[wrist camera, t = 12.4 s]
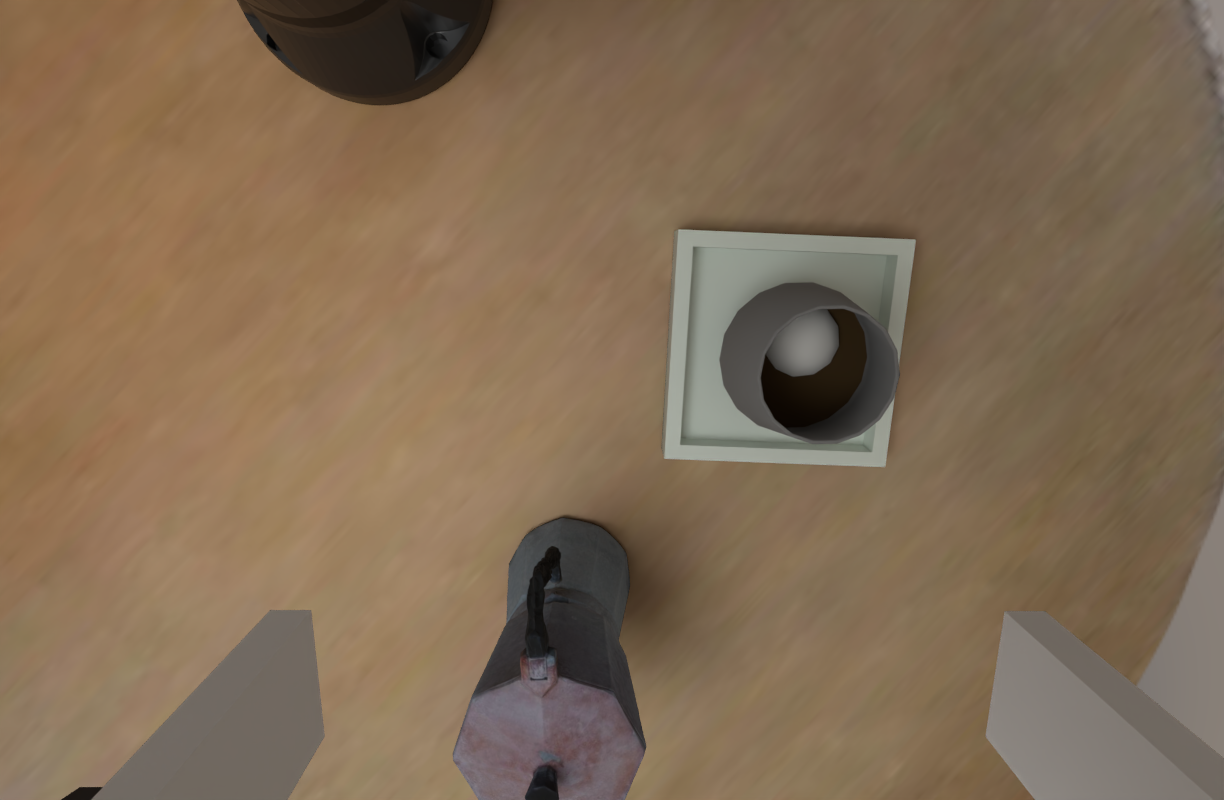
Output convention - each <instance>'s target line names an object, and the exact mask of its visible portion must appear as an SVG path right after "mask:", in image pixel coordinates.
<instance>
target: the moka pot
mask: <svg viewBox="0 0 1224 800" xmlns="http://www.w3.org/2000/svg"><path fill="white" fill-rule="evenodd" d="M508 573H509V578H508V595H507V623H506V626H505V628H504V630H503V632H502V634H501V636H500V638H499V640H498V642H497V644H496V647H495V649H494V651H493V653H492V655H491V657H490V659H489V661H488V663H487V666H486V668H485V670H484V672H483V674H482V676H481V678H480V680H479V682H478V684H477V686H476V689H475V691H474V693H473V695H472V697H471V700H470V703H469V706H468V709H467V712H466V715H465V718H464V721H463V724H462V727H461V730H460V733H459V736H458V739H457V742H456V745H455V748H454V752H453V761H454V762H455V764H456V765H457V767H458V768H459V770H460V771H461V773H462V774H463V776H464V777H465V779H466V780H467V782H468V783H469V785H470V787H471V788H472V790H473V791H474V793H475V795H476V796H477V798H478V799H479V800H625V798H626V796H627V793H628V791H629V789H630V786H631V784H632V782H633V779H634V777H635V775H636V772H637V770H638V768H639V766H640V763H641V761H642V759H643V757H644V753H645V750H646V743H645V739H644V735H643V731H642V726H641V722H640V717H639V712H638V707H637V703H636V698H635V694H634V690H633V685H632V681H631V676H630V672H629V667H628V663H627V659H626V655H625V653H624V651H623V649H622V647H621V645H620V643H619V636H620V631H621V626H622V621H623V616H624V612H625V607H626V602H627V598H628V594H629V587H630V578H629V569H628V560H627V555H626V553H625V551H624V550H623V548H622V547H621V546H620V544H619V543H618V542H617V541H616V540H615V539H614V538H613V537H612V536H611V535H610V534H608V533H607V532H606V531H605V530H604V529H602V528H601V527H599V526H597V525H594V524H591V523H587V522H583V521H578V520H572V519H567V518H560V519H558V520H554V521H551V522H549V523H546V524H544V525H542V526H540V527H538V528H536V529H535V530H533V531H531V532H530V533H528V534H527V535H526V536H525V537H524V539H523V540H522V542H521V543H520V545H519V547H518V548H517V550H516V552H515V554H514V556H513V558H512V560H511V561H510V563H509V572H508Z"/></svg>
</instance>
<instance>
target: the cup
mask: <svg viewBox="0 0 1224 800" xmlns="http://www.w3.org/2000/svg"><path fill="white" fill-rule="evenodd" d="M719 361H720V367H721V373H722V380H723V385H724V387H725V389H726V391H727V393H728V394H729V396H730V398H731V399H732V401H733V403H734V405H735V406H736V408H737V409H738V410H739V411H740V412H742V413H743V414H744V415H745V416H747V417H748V418H749V419H750V420H752V421H753V422H754V423H755V424H756V425H758V426H761V427H764V428H767V429H769V430H772V431H775V432H778V433H781V434H784V435H787V436H790V437H793V438H796V439H799V440H802V441H805V442H808V443H811V444H838V443H841V442H843V441H846V440H849V439H851V438H854V437H857V436H860V435H861V434H863V433H864V432H865V431H866V430H868V429H869V428H870V427H871V426H873V425H874V424H875V423H876V422H878V421H879V420H880V419H881V417H882V416H883V414H884V413H885V411H886V410H887V408H888V407H889V405H890V404H891V402H892V401H893V399H894V396H895V392H896V388H897V384H898V380H899V376H900V371H899V362H898V352H897V349H896V347H895V345H894V343H893V341H892V339H891V337H890V335H889V333H888V331H887V329H886V328H885V327H883V326H882V325H881V324H880V323H879V322H878V321H876V320H875V319H874V318H873V317H872V316H871V315H870V314H868V313H867V312H866V311H865V310H863V309H862V308H861V307H859V306H858V305H857V304H855V303H854V302H853V301H851V300H850V299H849V298H847V297H846V296H845V295H844V294H842V293H841V292H839V291H836V290H833V289H831V288H828V287H825V286H822V285H819V284H817V283H814V282H802V283H783V284H781V285H778V286H776V287H773V288H770V289H768V290H765V291H763V292H760V293H758V294H757V295H756V296H755V297H753V298H752V299H751V300H750V301H749V302H748V303H746V304H745V305H744V306H743V307H742V308H741V309H739V310H738V311H737V313H736V315H735V317H734V318H733V320H732V322H731V323H730V325H729V327H728V329H727V330H726V332H725V334H724V338H723V343H722V348H721V354H720V359H719Z"/></svg>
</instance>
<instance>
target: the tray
mask: <svg viewBox="0 0 1224 800" xmlns="http://www.w3.org/2000/svg"><path fill="white" fill-rule="evenodd" d="M915 243H916V240H914V239H891V238H868V237H844V236H821V235H797V234H774V233H751V232H727V231H704V230H680V229H678V230H676V231H674V245H673V262H672V279H671V296H670V313H669V329H668V346H667V363H666V380H665V397H664V414H663V431H662V447H661V448H662V452H663V456H664V459H684V460H711V461H737V462H763V463H790V464H816V465H842V466H869V467H885V465H886V457H887V450H888V443H889V435H890V428H891V420H892V413H893V406H894V399H893V401H892V402H891V404H890V405H889V407H888V408H887V410H886V411H885V413H884V414H883V416H882V417H881V419H880V420H879V421H878V422H876V423H875V424H874V425H873V426H871V427H870V428H869V429H868V430H866V431H865V432H864V433H863V434H861V435H860V436H857V437H854V438H851V439H849V440H846V441H843V442H841V443H838V444H811V443H808V442H805V441H802V440H799V439H796V438H793V437H790V436H787V435H784V434H781V433H778V432H775V431H772V430H769V429H767V428H764V427H761V426H758V425H756V424H755V423H754V422H753V421H752V420H750V419H749V418H748V417H747V416H745V415H744V414H743V413H742V412H740V411H739V410H738V409H737V408H736V406H735V405H734V403H733V401H732V399H731V398H730V396H729V394H728V393H727V391H726V389H725V387H724V385H723V380H722V373H721V367H720V361H719V359H720V354H721V348H722V343H723V338H724V334H725V332H726V330H727V329H728V327H729V325H730V323H731V322H732V320H733V318H734V317H735V315H736V313H737V311H738V310H739V309H741V308H742V307H743V306H744V305H745V304H746V303H748V302H749V301H750V300H751V299H752V298H753V297H755V296H756V295H757V294H758V293H760V292H763V291H765V290H768V289H770V288H773V287H776V286H778V285H781V284H783V283H802V282H814V283H817V284H819V285H822V286H825V287H828V288H831V289H833V290H836V291H839V292H841V293H842V294H844V295H845V296H846V297H847V298H849V299H850V300H851V301H853V302H854V303H855V304H857V305H858V306H859V307H861V308H862V309H863V310H865V311H866V312H867V313H868V314H870V315H871V316H872V317H873V318H874V319H875V320H876V321H878V322H879V323H880V324H881V325H882V326H883V327H885V328H886V329H887V331H888V333H889V335H890V337H891V339H892V341H893V343H894V345H895V347H896V349H897V352H898V362H899V361H900V354H901V347H902V339H903V332H904V324H905V317H906V310H907V302H908V295H909V287H910V280H911V273H912V265H913V258H914V250H915ZM894 398H895V396H894Z"/></svg>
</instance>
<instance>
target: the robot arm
mask: <svg viewBox="0 0 1224 800" xmlns="http://www.w3.org/2000/svg"><path fill="white" fill-rule="evenodd" d="M237 1H238V3H239V5H240V7H241V9H242V11H243V12H244V14H245V16H246V18H247V20H248V21H249V23H250V25H251V26H252V28H253V29H254V31H255V32H256V34H257V35H258V37H259V38H260V39H261V41H262V42H263V43H264V44H265V45H266V47H267V48H268V49H269V50H270V51H271V52H272V53H273V54H274V55H275V56H276V57H277V58H278V59H279V60H280V61H281V62H282V63H283V64H284V65H285V66H287V67H288V68H289V69H290V70H292V71H293V72H294V73H296V74H297V75H299V76H300V77H301V78H303V79H305V80H306V81H308V82H310V83H311V84H313V85H315V86H316V87H318V88H320V89H321V90H323V91H325V92H327V93H329V94H331V95H334V96H336V97H339V98H342V99H345V100H348V101H352V102H356V103H361V104H369V105H391V104H398V103H403V102H407V101H411V100H414V99H417V98H420V97H422V96H424V95H427V94H428V93H430V92H432V91H434V90H436V89H437V88H439V87H440V86H442V85H443V84H445V83H446V82H447V81H449V80H450V79H451V78H452V77H453V76H454V75H455V74H456V73H457V72H458V71H459V70H460V69H461V68H462V67H463V66H464V65H465V63H466V62H467V61H468V59H469V58H470V57H471V55H472V54H473V52H474V50H475V49H476V47H477V45H478V44H479V41H480V39H481V37H482V35H483V33H484V30H485V28H486V25H487V22H488V19H489V15H490V11H491V6H492V0H237ZM324 736H325V735H324V726H323V716H322V707H321V698H320V688H319V679H318V670H317V660H316V651H315V641H314V632H313V623H312V613H311V610H270V611H269V612H268V613H267V614H266V615H265V616H264V617H263V618H262V620H261V621H260V622H259V623H258V624H257V625H256V626H255V627H254V628H253V629H252V630H251V631H250V632H249V633H248V634H247V635H246V636H245V638H244V639H243V640H242V641H241V642H240V643H239V644H238V645H237V646H236V647H235V648H234V649H233V650H232V651H231V652H230V653H229V654H228V656H227V657H226V658H225V659H224V660H223V661H222V662H221V663H220V664H219V665H218V666H217V667H216V668H215V669H214V670H213V671H212V672H211V673H210V675H209V676H208V677H207V678H206V679H205V680H204V681H203V682H202V683H201V684H200V685H199V686H198V687H197V688H196V689H195V690H194V691H193V693H192V694H191V695H190V696H189V697H188V698H187V699H186V700H185V701H184V702H183V703H182V704H181V705H180V706H179V707H178V708H177V709H176V711H175V712H174V713H173V714H172V715H171V716H170V717H169V718H168V719H167V720H166V721H165V722H164V723H163V724H162V725H161V726H160V727H159V728H158V730H157V731H156V732H155V733H154V734H153V735H152V736H151V737H150V738H149V739H148V740H147V741H146V742H145V743H144V744H143V745H142V746H141V748H140V749H139V750H138V751H137V752H136V753H135V754H134V755H133V756H132V757H131V758H130V759H129V760H128V761H127V762H126V763H125V764H124V765H123V767H122V768H121V769H120V770H119V771H118V772H117V773H116V774H115V775H114V776H113V777H112V778H111V779H110V780H109V781H108V782H107V783H106V785H105V786H104V787H79V788H78V789H76V790H75V791H73V792H72V793H70V794H69V795H68V796H66V797H65V798H63V799H62V800H288V798H289V796H290V794H291V793H292V791H293V789H294V788H295V786H296V784H297V783H298V781H299V779H300V777H301V776H302V774H303V772H304V771H305V769H306V767H307V765H308V764H309V762H310V760H311V759H312V757H313V755H314V754H315V752H316V750H317V748H318V747H319V745H320V743H321V742H322V740H323V738H324ZM986 738H987V739H988V740H989V741H990V743H991V744H992V745H993V747H994V748H995V749H996V750H997V752H998V753H999V754H1000V756H1001V757H1002V758H1003V759H1004V761H1005V762H1006V763H1007V764H1008V766H1009V767H1010V768H1011V770H1012V771H1013V772H1014V773H1015V775H1016V776H1017V777H1018V779H1019V780H1020V781H1021V782H1022V784H1023V785H1024V786H1025V788H1026V789H1027V790H1028V791H1029V793H1030V794H1031V795H1032V796H1033V798H1034V799H1035V800H1224V758H1223V757H1222V756H1221V755H1219V754H1218V753H1217V752H1216V751H1214V750H1213V749H1212V748H1211V747H1209V746H1208V745H1207V744H1206V743H1205V742H1203V741H1202V740H1201V739H1200V738H1199V737H1197V736H1196V735H1195V734H1194V733H1192V732H1191V731H1190V730H1189V729H1188V728H1186V727H1185V726H1184V725H1183V724H1181V723H1180V722H1179V721H1178V720H1177V719H1175V718H1174V717H1173V716H1172V715H1170V714H1169V713H1168V712H1167V711H1166V710H1164V709H1163V708H1162V707H1161V706H1160V705H1158V704H1157V703H1156V702H1155V701H1153V700H1152V699H1151V698H1150V697H1148V696H1147V695H1146V694H1145V693H1144V692H1142V691H1141V690H1140V689H1139V688H1138V687H1136V686H1135V685H1134V684H1133V683H1132V682H1130V681H1129V680H1128V679H1127V678H1125V677H1124V676H1123V675H1122V674H1121V673H1119V672H1118V671H1117V670H1116V669H1115V668H1113V667H1112V666H1111V665H1110V664H1108V663H1107V662H1106V661H1105V660H1104V659H1102V658H1101V657H1100V656H1099V655H1097V654H1096V653H1095V652H1094V651H1093V650H1091V649H1090V648H1089V647H1088V646H1086V645H1085V644H1084V643H1083V642H1082V641H1080V640H1079V639H1078V638H1077V637H1076V636H1074V635H1073V634H1072V633H1071V632H1069V631H1068V630H1067V629H1066V628H1065V627H1063V626H1062V625H1061V624H1060V623H1058V622H1057V621H1056V620H1055V619H1054V618H1052V617H1051V616H1050V615H1049V614H1047V613H1046V612H1045V611H1005V613H1004V619H1003V626H1002V632H1001V639H1000V645H999V652H998V658H997V665H996V671H995V678H994V685H993V691H992V698H991V704H990V711H989V717H988V724H987V730H986Z"/></svg>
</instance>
